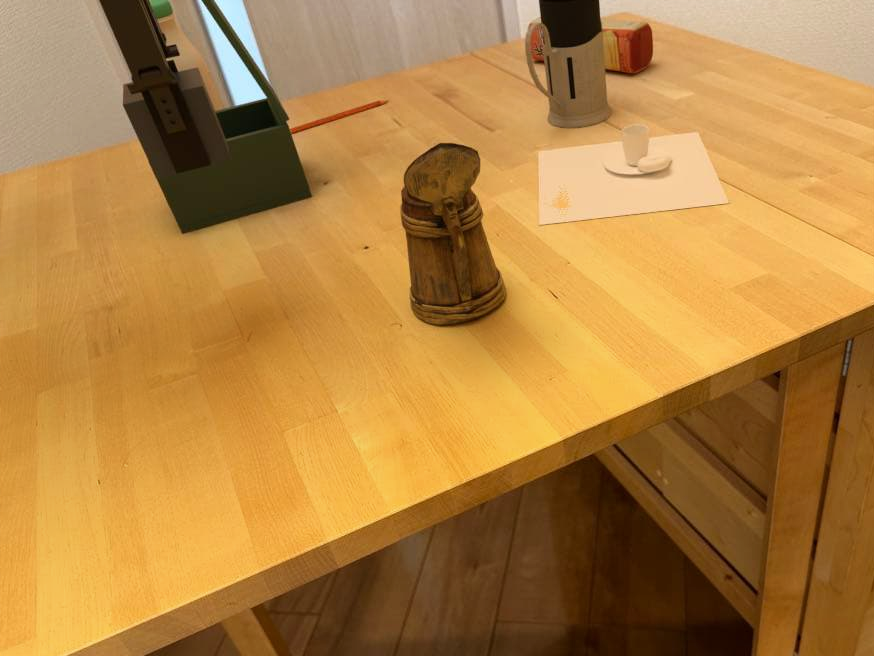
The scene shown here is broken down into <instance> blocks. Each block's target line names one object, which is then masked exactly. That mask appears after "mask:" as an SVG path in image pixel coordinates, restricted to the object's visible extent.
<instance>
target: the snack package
mask: <svg viewBox="0 0 874 656" xmlns="http://www.w3.org/2000/svg"><path fill="white" fill-rule="evenodd" d="M601 22H602V30H603V44H604V60H605V70H609V71H614V72H615V71H617V72H622V73H628V74H637V73H639V72H640V71H642V70H644V69H646V68H647V67H648V66H649V64H650V63H651V62H652V59H653V57H654V37H653V30H652V26H651V24H649V22H647V21H644V20H623V19H601ZM533 23H541V16H539V17H537V18H536V19H534V20H532V21H531V22H530V23H529V24H528V26H527V29H528V28H529V27H530V26H531V25H532V24H533ZM542 38H543V33H542V30H541V29H540V27H539V26H537V27H536V28H535V29H534V30H533V33H532V35H531V54H532V60H535V61H539V62H541V61H543V62H544V55H543V46H542Z"/></svg>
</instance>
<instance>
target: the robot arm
mask: <svg viewBox="0 0 874 656" xmlns="http://www.w3.org/2000/svg"><path fill="white" fill-rule="evenodd" d="M98 2H99V4H100V6H101V8H102V10H103V13H104V15H105V17H106V19H107V22H108V23H109V27H110V29H111V31H112V33H113V36H114V38H115V40H116V43H117V45H118V48H119V50H120V51H121V54H122V56H123V59H124V61H125V63H126V65H127V68H128V70H129V72H130V75H131V82H133V83H134V84H130V85H127V87H128V89H129V91H130V93H131V94H135V93H140V92H141V93H142V96H143V98H144V100H145V103H146V105H147V107H148V109H149V112H150V114H151V116H152V118H153V121H154V123H155V125H156V127H157V130H158V132H159V134H160V137H161V139H162V141H163V143H164V146H165V148H166V150H167V152H168V155H169V157H170V159H171V161H172V164H173V166H174V168H175V171H176V173H177V174H178V173H182V172H186V171H190V170H194V169H198V168H202V167H205V166H209V165H211V163H210V160H209V158H208V155H207V153H206V150H205V148H204V145H203V143H202V140H201V138H200V135H199V133H198V131H197V128H196V126H195V123H194V121H193V118H192V116H191V113H190V111H189V108H188V106H187V104H186V101H185V99H184V96H183V94H182V91H181V89H180V86H179V84H178V81H177V80H176V81H174V80H175V76H174V73H175V72H178V70H177V67H176V65H175V62H174V60H170V61H167V60H166V59H167V58H172V57H176V56H180V54H179V51H178V48H177V46H176V44H174V45H170V46H166V45H167V44H166V40H167V39H166V36H165V34H164V33H163V32H162V31H161V28H160V26H159V24H158V21H157V19H156V16H155V14H154V11H153V9H152V6H151V4H150V1H149V0H98Z"/></svg>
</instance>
